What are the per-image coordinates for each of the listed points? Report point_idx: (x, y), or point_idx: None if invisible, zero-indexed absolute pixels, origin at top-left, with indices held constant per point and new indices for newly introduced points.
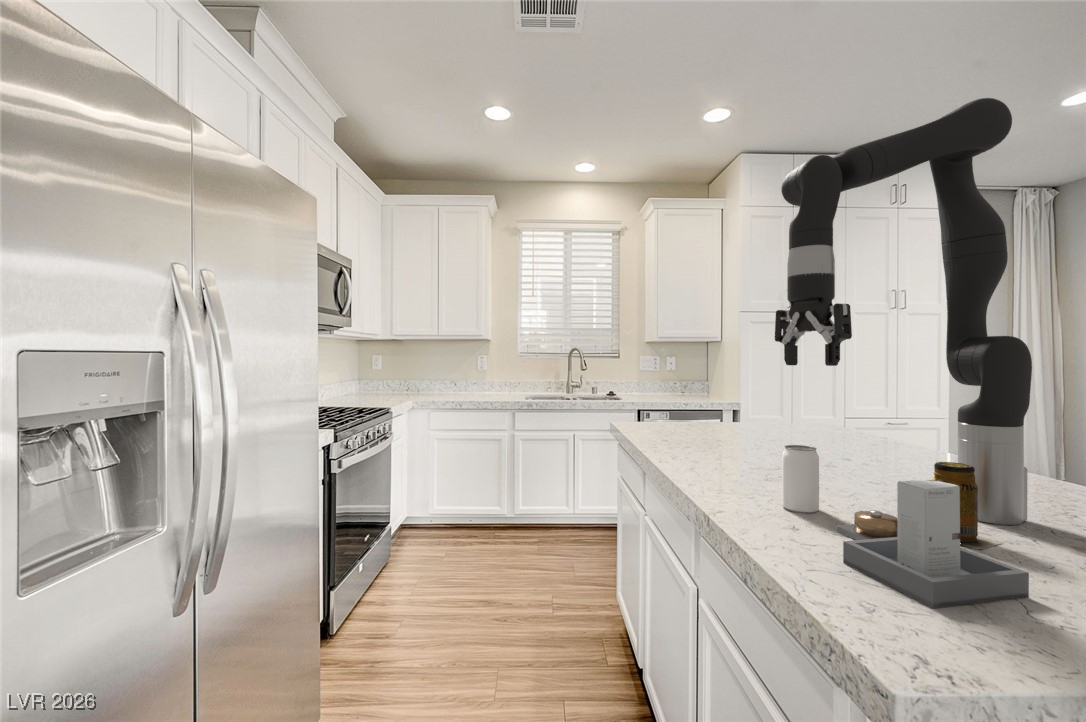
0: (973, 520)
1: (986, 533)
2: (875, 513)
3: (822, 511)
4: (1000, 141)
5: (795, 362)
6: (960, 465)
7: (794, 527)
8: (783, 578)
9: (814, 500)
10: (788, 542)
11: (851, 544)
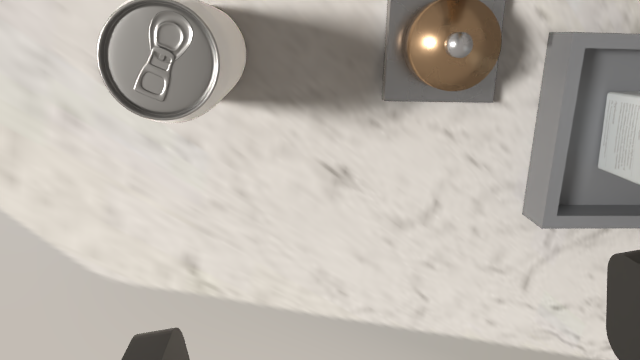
0: None
1: None
2: (467, 54)
3: (232, 7)
4: None
5: (177, 358)
6: None
7: (333, 169)
8: (535, 339)
9: (243, 45)
10: (409, 239)
11: (559, 226)
